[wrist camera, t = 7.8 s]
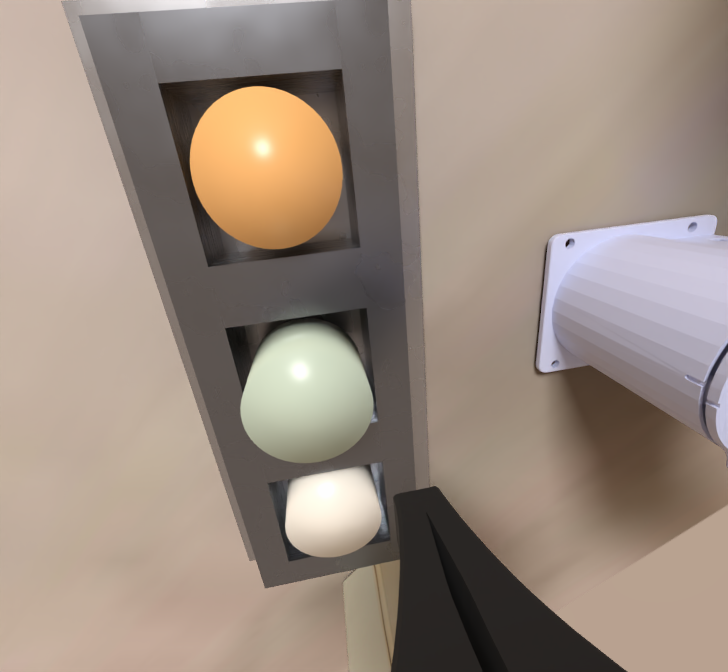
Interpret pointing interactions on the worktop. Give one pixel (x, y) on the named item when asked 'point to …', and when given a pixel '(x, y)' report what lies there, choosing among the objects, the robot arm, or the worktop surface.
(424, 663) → the robot arm
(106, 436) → the worktop surface
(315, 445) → the sage button
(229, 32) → the button panel
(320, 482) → the ivory button
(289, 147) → the orange button
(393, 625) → the skincare box
